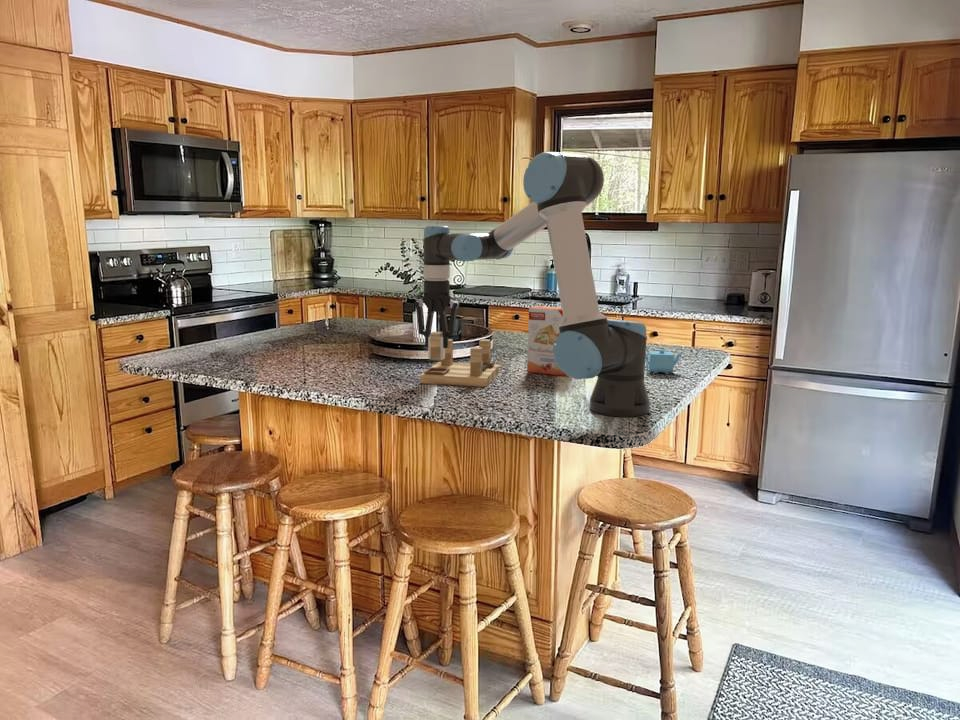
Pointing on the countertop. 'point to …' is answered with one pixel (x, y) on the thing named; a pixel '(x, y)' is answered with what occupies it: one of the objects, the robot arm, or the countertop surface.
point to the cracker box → (543, 339)
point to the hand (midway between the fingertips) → (436, 358)
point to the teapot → (661, 361)
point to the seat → (461, 370)
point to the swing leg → (485, 352)
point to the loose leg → (435, 345)
